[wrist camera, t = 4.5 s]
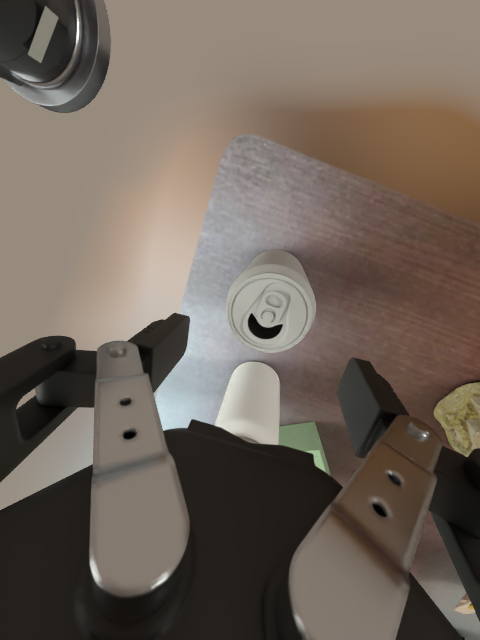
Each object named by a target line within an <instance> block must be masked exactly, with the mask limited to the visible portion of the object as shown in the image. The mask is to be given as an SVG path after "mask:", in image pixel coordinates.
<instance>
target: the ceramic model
mask: <svg viewBox="0 0 480 640" xmlns="http://www.w3.org/2000/svg"><path fill="white" fill-rule="evenodd" d="M434 416H435V418H436V419H437V420H438V421H439V422H440V423H441V426H442V427H443V428H444V429H445V432H446V435H447V438H448V441H449V443H450V444H451V446H452V447H453V448H454V449H455V450H456V451H458V452H460V453H462V454H463V455H464V456H466V457H468V456H469V454H470V453H471V452H472V451H473V450H474V449H476V448H480V382H479V383H470V384H466V385H463V386H461V387H459V388H457V389H456V390H454V392H451V393H450V394H449V395H448V396H446V397H444V398H443V399H442V400H440V402H439V403H438V404H437V406H436V408H435V409H434Z"/></svg>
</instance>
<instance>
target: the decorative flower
mask: <svg viewBox="0 0 480 640" xmlns="http://www.w3.org/2000/svg"><path fill="white" fill-rule="evenodd" d="M454 610H455V611H457V612H460V613H463V614H472V613H474V612H475V610H474V608H473V606H472V603H471V601H470V599H469V597H468V594H467V593H466V594H465V595H464V597H463V598H462V599H461V600H460V601H459V603H458V604H457V606H456V607H455V608H454Z"/></svg>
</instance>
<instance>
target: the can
mask: <svg viewBox="0 0 480 640" xmlns="http://www.w3.org/2000/svg"><path fill="white" fill-rule="evenodd" d="M279 408H280V381H279V377H278V375H277V373H276V372H275V371H274V370H273V369H272V368H271V367H270V366H268V365H266V364H264V363H261V362H246V363H243V364H241V365H239V366H238V367H237V368H236V369H235V370H234V372H233V374H232V376H231V379H230V381H229V384H228V387H227V390H226V393H225V396H224V399H223V402H222V405H221V408H220V411H219V414H218V417H217V420H216V423H215V426H218V427H221V428H223V429H225V430H226V431H228V432H230V433H232V434H234V435H236V436H238V437H240V438H241V439H243V440H245V441H247V442H249V443H256V444H272V445H278V444H279Z"/></svg>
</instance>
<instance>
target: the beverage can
mask: <svg viewBox="0 0 480 640" xmlns="http://www.w3.org/2000/svg"><path fill="white" fill-rule="evenodd" d="M226 312H227V317H228V321H229V325H230V327H231V329H232V331H233V333H234V334H235V336H236V337H237V338H238V339H239V340H240V341H241V342H242V343H243V344H245V345H246V346H248V347H250V348H252V349H254V350H257V351H260V352H267V353H274V352H281V351H284V350H287V349H289V348H291V347H293V346H295V345H296V344H297V343H299V342H300V341H301V340H302V339H303V338H304V336H305V335H306V334H307V332H308V331H309V329H310V327H311V326H312V323H313V321H314V318H315V313H316V301H315V296H314V293H313V290H312V288H311V286H310V283H309V281H308V279H307V276H306V274H305V272H304V270H303V267H302V265H301V263H300V262H299V261H298V260H297V258H296V257H294V256H293V255H292V254H290V253H288V252H286V251H282V250H269V251H266V252H263V253H261V254H259V255H258V256H257V257H255V258H254V259H253V260H252V262H251V263H250V264H249V265H248V266H247V267H246V269H245V270H244V271H243V272H242V273H241V274H240V276H239V277H238V278H237V279H236V280H235V281H234V283H233V284H232V286H231V288H230V290H229V292H228V295H227V300H226Z"/></svg>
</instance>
